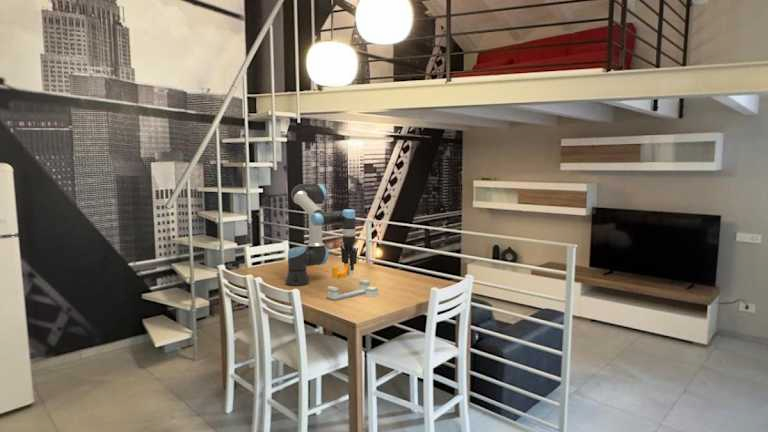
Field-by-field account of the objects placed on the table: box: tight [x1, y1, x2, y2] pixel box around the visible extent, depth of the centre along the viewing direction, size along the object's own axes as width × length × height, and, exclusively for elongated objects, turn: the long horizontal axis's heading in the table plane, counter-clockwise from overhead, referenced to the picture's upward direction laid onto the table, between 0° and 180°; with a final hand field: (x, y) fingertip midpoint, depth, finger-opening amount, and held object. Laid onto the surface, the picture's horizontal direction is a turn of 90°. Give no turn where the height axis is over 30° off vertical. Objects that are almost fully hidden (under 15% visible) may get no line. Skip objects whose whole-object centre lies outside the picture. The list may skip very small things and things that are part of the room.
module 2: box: [358, 279, 371, 291], centre depth 302 cm, size 6×3×6 cm, turn 46°
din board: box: [326, 288, 366, 302], centre depth 293 cm, size 8×28×1 cm, turn 136°
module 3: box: [365, 286, 379, 299], centre depth 292 cm, size 5×5×5 cm
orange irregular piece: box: [331, 263, 350, 280], centre depth 287 cm, size 12×4×6 cm, turn 138°
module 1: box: [326, 285, 339, 299], centre depth 284 cm, size 6×3×6 cm, turn 45°
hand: (349, 274), depth 292 cm, fingers closed on orange irregular piece, 3 cm apart
